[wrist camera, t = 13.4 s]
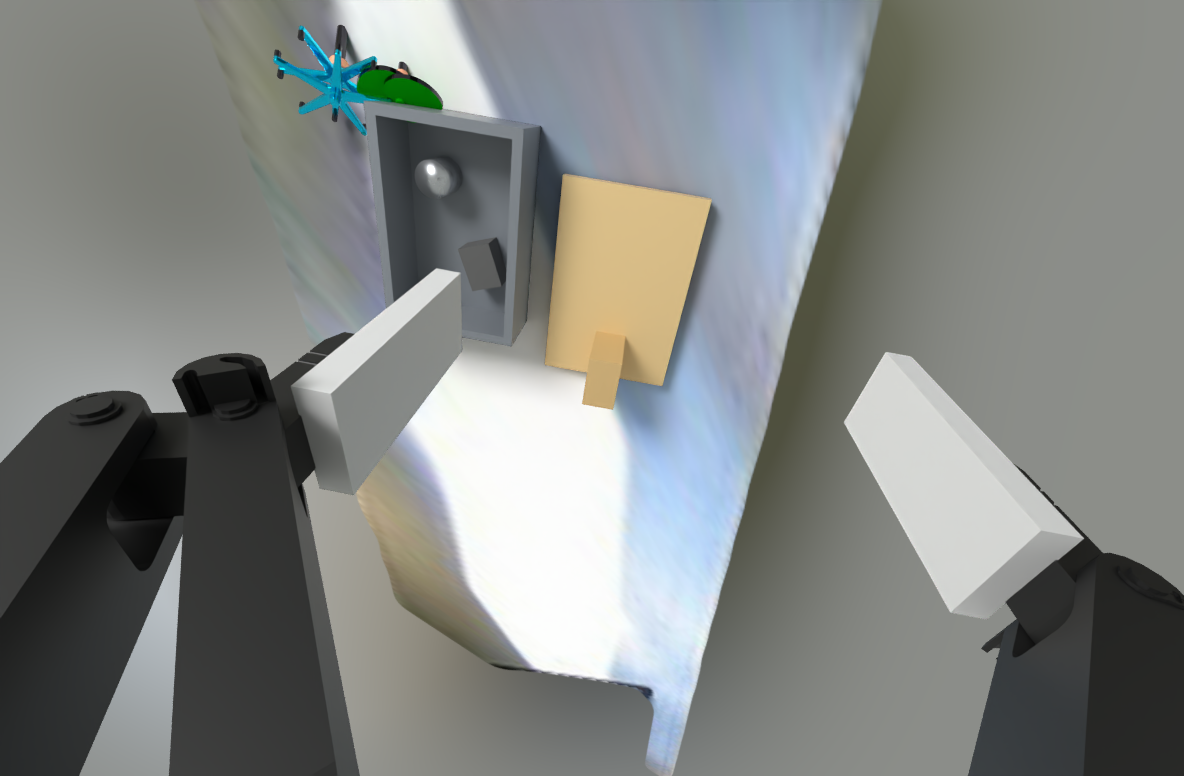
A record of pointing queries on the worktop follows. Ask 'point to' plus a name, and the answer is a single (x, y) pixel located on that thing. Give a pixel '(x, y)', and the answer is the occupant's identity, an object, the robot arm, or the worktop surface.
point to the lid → (620, 281)
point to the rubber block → (483, 264)
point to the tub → (455, 206)
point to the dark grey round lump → (438, 177)
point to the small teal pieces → (370, 82)
